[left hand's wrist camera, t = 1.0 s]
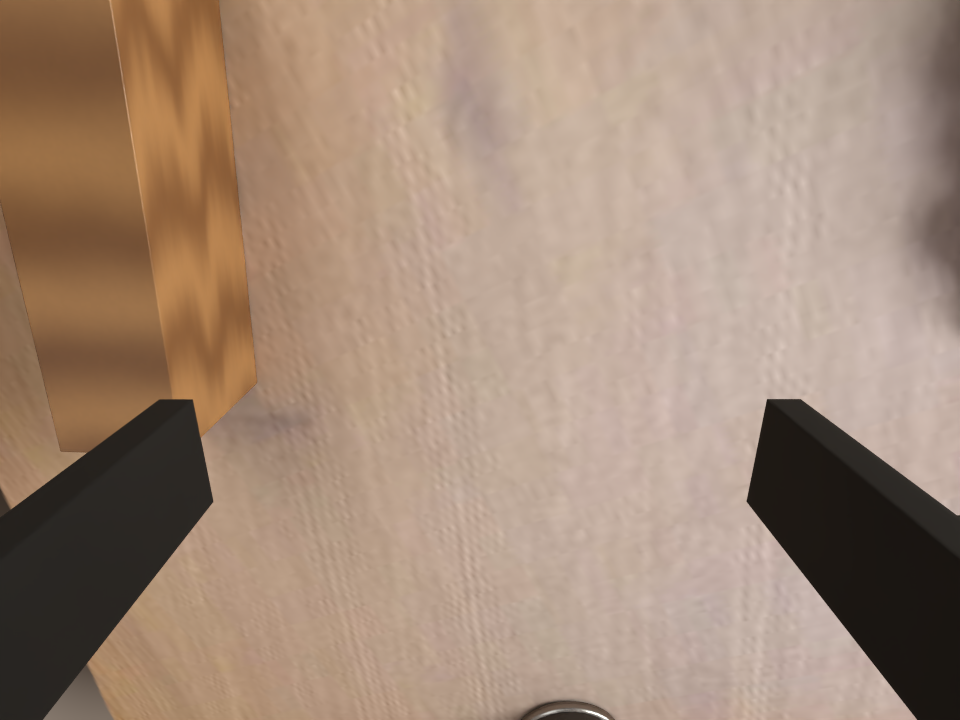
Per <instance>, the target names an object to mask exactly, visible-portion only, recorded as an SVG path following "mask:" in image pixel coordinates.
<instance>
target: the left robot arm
mask: <svg viewBox="0 0 960 720" xmlns="http://www.w3.org/2000/svg"><path fill="white" fill-rule="evenodd" d="M212 503H213V497H212V492H211V487H210V482H209V477H208V472H207V467H206V462H205V457H204V452H203V447H202V442H201V437H200V432H199V427H198V422H197V417H196V412H195V407H194V402H193V399H159V400H158V401H156V402H155V403H154V404H152V405H151V406H150V407H148V408H147V409H146V410H144V411H143V412H142V413H140V414H139V415H138V416H136V417H135V418H134V419H132V420H131V421H130V422H128V423H127V424H125V425H124V426H123V427H121V428H120V429H119V430H117V431H116V432H115V433H113V434H112V435H111V436H109V437H108V438H107V439H105V440H104V441H103V442H101V443H100V444H99V445H97V446H96V447H95V448H93V449H92V450H91V451H89V452H88V453H86V454H85V455H84V456H82V457H81V458H80V459H78V460H77V461H76V462H74V463H73V464H72V465H70V466H69V467H68V468H66V469H65V470H64V471H62V472H61V473H60V474H58V475H57V476H56V477H54V478H53V479H52V480H50V481H49V482H47V483H46V484H45V485H43V486H42V487H41V488H39V489H38V490H37V491H35V492H34V493H33V494H31V495H30V496H29V497H27V498H26V499H25V500H23V501H22V502H21V503H19V504H18V505H17V506H15V507H14V508H13V509H11V510H10V511H8V512H7V513H6V514H4V515H3V516H2V517H0V720H43V719H44V717H45V716H46V715H47V714H48V712H49V711H50V710H51V708H52V707H53V706H54V705H55V703H56V702H57V701H58V700H59V698H60V697H61V696H62V694H63V693H64V692H65V690H66V689H67V688H68V687H69V685H70V684H71V683H72V682H73V680H74V679H75V678H76V676H77V675H78V674H79V673H80V671H81V670H82V669H83V668H84V666H85V665H86V664H87V662H88V661H89V660H90V659H91V657H92V656H93V655H94V654H95V652H96V651H97V650H98V648H99V647H100V646H101V645H102V643H103V642H104V641H105V639H106V638H107V637H108V636H109V634H110V633H111V632H112V631H113V629H114V628H115V627H116V625H117V624H118V623H119V622H120V620H121V619H122V618H123V616H124V615H125V614H126V613H127V611H128V610H129V609H130V608H131V606H132V605H133V604H134V602H135V601H136V600H137V599H138V597H139V596H140V595H141V593H142V592H143V591H144V590H145V588H146V587H147V586H148V585H149V583H150V582H151V581H152V579H153V578H154V577H155V576H156V574H157V573H158V572H159V570H160V569H161V568H162V567H163V565H164V564H165V563H166V562H167V560H168V559H169V558H170V556H171V555H172V554H173V553H174V551H175V550H176V549H177V547H178V546H179V545H180V544H181V542H182V541H183V540H184V539H185V537H186V536H187V535H188V533H189V532H190V531H191V530H192V528H193V527H194V526H195V524H196V523H197V522H198V521H199V519H200V518H201V517H202V516H203V514H204V513H205V512H206V510H207V509H208V508H209V507H210V505H211V504H212ZM747 503H748V504H749V505H750V507H751V508H752V509H753V510H754V512H755V513H756V514H757V516H758V517H759V518H760V519H761V521H762V522H763V523H764V524H765V526H766V527H767V528H768V530H769V531H770V532H771V533H772V535H773V536H774V537H775V539H776V540H777V541H778V542H779V544H780V545H781V546H782V547H783V549H784V550H785V551H786V553H787V554H788V555H789V556H790V558H791V559H792V560H793V562H794V563H795V564H796V565H797V567H798V568H799V569H800V570H801V572H802V573H803V574H804V576H805V577H806V578H807V579H808V581H809V582H810V583H811V585H812V586H813V587H814V588H815V590H816V591H817V592H818V593H819V595H820V596H821V597H822V599H823V600H824V601H825V602H826V604H827V605H828V606H829V608H830V609H831V610H832V611H833V613H834V614H835V615H836V616H837V618H838V619H839V620H840V622H841V623H842V624H843V625H844V627H845V628H846V629H847V631H848V632H849V633H850V634H851V636H852V637H853V638H854V639H855V641H856V642H857V643H858V645H859V646H860V647H861V648H862V650H863V651H864V652H865V654H866V655H867V656H868V657H869V659H870V660H871V661H872V662H873V664H874V665H875V666H876V668H877V669H878V670H879V671H880V673H881V674H882V675H883V677H884V678H885V679H886V680H887V682H888V683H889V684H890V685H891V687H892V688H893V689H894V691H895V692H896V693H897V694H898V696H899V697H900V698H901V700H902V701H903V702H904V703H905V705H906V706H907V707H908V709H909V710H910V711H911V712H912V714H913V715H914V716H915V717H916V719H917V720H960V515H956V514H954V513H953V512H951V511H950V510H949V509H947V508H946V507H945V506H943V505H942V504H941V503H939V502H938V501H937V500H935V499H934V498H933V497H931V496H930V495H929V494H927V493H926V492H925V491H923V490H922V489H921V488H919V487H918V486H917V485H915V484H914V483H913V482H911V481H910V480H908V479H907V478H906V477H904V476H903V475H902V474H900V473H899V472H898V471H896V470H895V469H894V468H892V467H891V466H890V465H888V464H887V463H886V462H884V461H883V460H882V459H880V458H879V457H878V456H876V455H875V454H874V453H872V452H871V451H869V450H868V449H867V448H865V447H864V446H863V445H861V444H860V443H859V442H857V441H856V440H855V439H853V438H852V437H851V436H849V435H848V434H847V433H845V432H844V431H843V430H841V429H840V428H839V427H837V426H836V425H835V424H833V423H832V422H830V421H829V420H828V419H826V418H825V417H824V416H822V415H821V414H820V413H818V412H817V411H816V410H814V409H813V408H812V407H810V406H809V405H808V404H806V403H805V402H804V401H802V400H801V399H767V402H766V407H765V412H764V417H763V422H762V427H761V432H760V437H759V442H758V447H757V452H756V457H755V462H754V467H753V472H752V477H751V482H750V487H749V492H748V497H747Z"/></svg>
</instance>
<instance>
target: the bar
mask: <svg viewBox="0 0 960 720" xmlns="http://www.w3.org/2000/svg"><path fill="white" fill-rule="evenodd" d="M0 203H1V207H2V211H3V215H4V219H5V223H6V228H7V232H8V236H9V240H10V244H11V248H12V252H13V256H14V261H15V265H16V269H17V273H18V277H19V281H20V285H21V290H22V294H23V298H24V302H25V306H26V310H27V314H28V318H29V323H30V327H31V331H32V335H33V339H34V343H35V347H36V351H37V356H38V360H39V364H40V368H41V372H42V376H43V380H44V384H45V389H46V393H47V397H48V401H49V405H50V409H51V413H52V418H53V422H54V426H55V430H56V434H57V438H58V442H59V446H60V451H62V452H89V451H91V450H92V449H93V448H95V447H96V446H97V445H99V444H100V443H101V442H103V441H104V440H105V439H107V438H108V437H109V436H111V435H112V434H113V433H115V432H116V431H117V430H119V429H120V428H121V427H123V426H124V425H125V424H127V423H128V422H130V421H131V420H132V419H134V418H135V417H136V416H138V415H139V414H140V413H142V412H143V411H144V410H146V409H147V408H148V407H150V406H151V405H152V404H154V403H155V402H156V401H158V400H159V399H193V402H194V407H195V412H196V417H197V422H198V427H199V432H200V437H202V436H203V435H204V434H205V433H206V432H207V431H208V430H209V429H210V428H211V427H212V426H213V425H214V424H215V423H216V422H217V421H218V420H219V419H220V418H221V417H222V416H223V415H225V414H226V413H227V412H228V411H229V410H230V409H231V408H232V407H233V406H234V405H235V404H236V403H237V402H238V401H239V400H240V399H241V398H242V397H243V396H244V395H245V394H246V393H247V392H248V391H249V390H250V389H251V388H252V387H253V386H254V385H255V384H256V383H257V377H256V367H255V357H254V347H253V337H252V327H251V318H250V308H249V298H248V288H247V278H246V268H245V258H244V248H243V238H242V228H241V218H240V208H239V198H238V189H237V179H236V169H235V159H234V149H233V139H232V129H231V119H230V109H229V99H228V89H227V79H226V69H225V59H224V50H223V40H222V30H221V20H220V10H219V0H0Z"/></svg>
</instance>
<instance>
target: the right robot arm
mask: <svg viewBox="0 0 960 720" xmlns="http://www.w3.org/2000/svg"><path fill="white" fill-rule="evenodd" d="M521 720H615V719H614V718H613V717H612V716H611V715H610V714H609V713H607V712H606V711H604V710H603V709H601V708H599V707H597V706H594V705H591V704H588V703H583V702H576V701H563V702H556V703H551V704H547V705H544V706H542V707H539V708H537V709H535V710H533V711H532V712H530V713H529V714H527V715H526V716H525V717H524V718H523V719H521Z"/></svg>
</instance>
